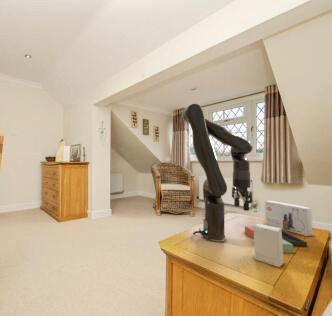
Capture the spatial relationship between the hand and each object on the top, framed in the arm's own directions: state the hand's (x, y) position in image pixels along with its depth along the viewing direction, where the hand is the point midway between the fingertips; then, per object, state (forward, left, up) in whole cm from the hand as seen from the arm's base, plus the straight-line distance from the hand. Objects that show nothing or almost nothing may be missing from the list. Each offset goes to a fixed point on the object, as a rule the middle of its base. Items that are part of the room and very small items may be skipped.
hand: (241, 208), depth 104 cm
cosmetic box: (-1, -22, -17) cm, 28 cm away
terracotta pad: (+11, +8, -17) cm, 22 cm away
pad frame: (+22, +6, -17) cm, 28 cm away
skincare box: (+37, +22, -17) cm, 46 cm away
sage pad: (+13, -8, -17) cm, 23 cm away
